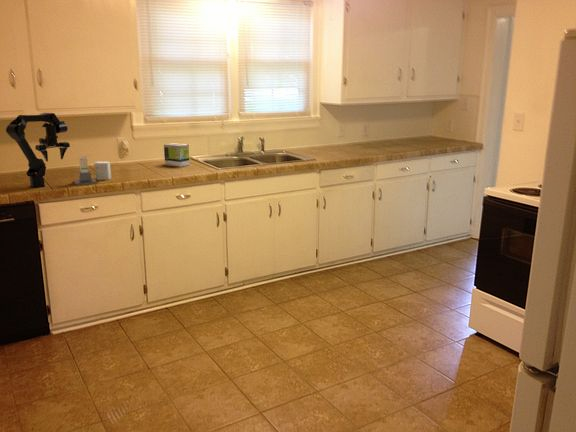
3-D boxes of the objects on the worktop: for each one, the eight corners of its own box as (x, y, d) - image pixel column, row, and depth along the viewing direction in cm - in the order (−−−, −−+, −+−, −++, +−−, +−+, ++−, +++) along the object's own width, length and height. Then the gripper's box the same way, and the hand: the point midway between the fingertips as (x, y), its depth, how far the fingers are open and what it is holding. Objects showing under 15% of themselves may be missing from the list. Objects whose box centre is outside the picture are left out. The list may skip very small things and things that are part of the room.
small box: (111, 177, 335) (110, 161, 332) (108, 179, 330) (107, 163, 327) (98, 177, 335) (97, 161, 332) (95, 179, 329) (94, 163, 326)
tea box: (190, 165, 378) (189, 144, 374) (180, 167, 370) (179, 146, 366) (174, 162, 386) (173, 142, 382) (164, 165, 378) (163, 144, 374)
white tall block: (81, 174, 318) (79, 158, 315) (80, 173, 321) (78, 156, 318) (88, 174, 319) (87, 157, 317) (87, 172, 323) (86, 156, 320)
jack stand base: (75, 185, 314) (74, 175, 312) (73, 181, 324) (72, 171, 323) (97, 183, 319) (96, 173, 317) (94, 179, 330) (93, 169, 328)
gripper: (59, 131, 327) (62, 156, 332) (29, 134, 313) (32, 161, 318) (68, 133, 321) (71, 159, 325) (38, 136, 307) (41, 163, 311)
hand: (54, 160), depth 320 cm, fingers open, 9 cm apart
